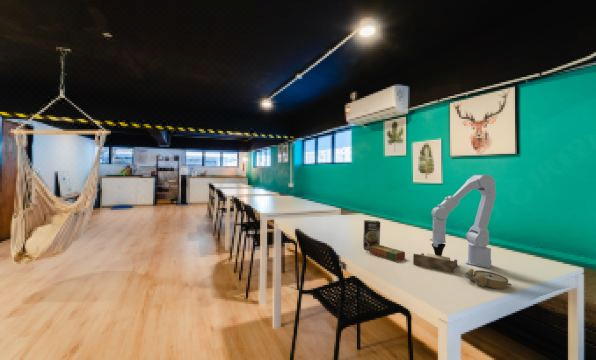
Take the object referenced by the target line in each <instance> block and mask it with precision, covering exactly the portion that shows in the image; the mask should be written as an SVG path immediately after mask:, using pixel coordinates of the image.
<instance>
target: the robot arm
mask: <svg viewBox="0 0 596 360" xmlns="http://www.w3.org/2000/svg"><path fill="white" fill-rule="evenodd" d="M495 184H496V180H495V179H494V178H493V177H492V175H489V174H473V175H472V176H471V177H470V178H468V179H466V181H465V183H463V185H462V186H461V187H460V188H459V189H458V190H457V191H456V192H455V193H453V195H448V196H446V197H444V200H443V201H442V202H441V203H440V204H437V206H436V207H433V209H432V210H431V211H430V214H431V217H432V238H429V241H432V243H431V247H432V249H433V252H434V255H438V256H443V252H444V250H445V247H446V233H447V231H446V229H447V228H446V227H447V225H446V224H447V221H446V220H447V218H448V217H449V214H450V213H451V212H452V211H453V210H454V209H455V208H456V207H458V206H459V205H460V204H459V203H460V200H461V199H463V198H464V197H465V196H466V195H468V194H469V193H470V192H471V191H472V190H473V191H474V190H477V191H479V193H480V194H481V198H480V200H479V201H480V202H479V205H478V209H477V212H476V215H475V219H474V224H472V226H470V228H469V230H468V232H466V235H465V239H466V241H467V242H468V244H467V245H468V247H467V249H468V250H467V260H466V262H465V264H466V265H471V266H476V267H483V268H486V269H490V268H491V265H492V247H491V248H490V247H488V246H489V244H490V231H489V230H488V225H489V222H490V217H491V216H492V215H491V214H492V211H493V209H494V203H495V200H496V196H497V190H496V185H495Z"/></svg>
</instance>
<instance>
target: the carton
mask: <svg viewBox="0 0 596 360" xmlns="http://www.w3.org/2000/svg"><path fill="white" fill-rule="evenodd" d="M369 253H371V254H370V255H373V254H374V255H373V256H377V257H380V258H384V259H387V260H389V261H393V262H398V261H402V260H404V259H406V252H405V251H403V250H400V249H395V248H393V247H389V246H385V245H381V244H380V245H376V246H372V247H371V248H370V249H369Z"/></svg>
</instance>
